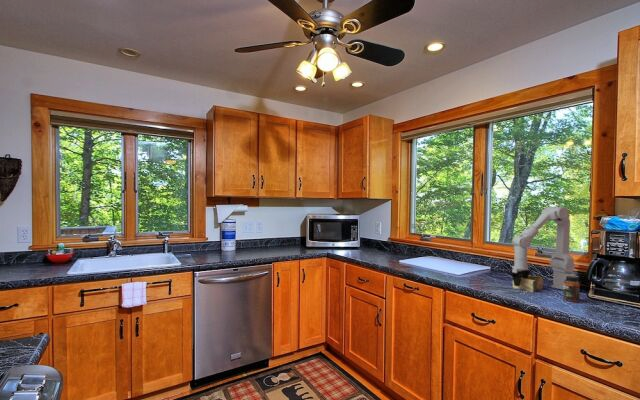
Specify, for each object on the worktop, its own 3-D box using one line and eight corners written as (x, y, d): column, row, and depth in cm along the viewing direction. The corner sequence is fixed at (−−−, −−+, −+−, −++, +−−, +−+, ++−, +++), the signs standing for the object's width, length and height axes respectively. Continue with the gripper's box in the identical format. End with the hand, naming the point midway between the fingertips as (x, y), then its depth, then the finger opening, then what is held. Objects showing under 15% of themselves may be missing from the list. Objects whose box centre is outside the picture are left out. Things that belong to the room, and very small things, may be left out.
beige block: (536, 291, 158) (536, 280, 158) (534, 292, 157) (534, 281, 157) (515, 286, 167) (515, 276, 167) (512, 287, 165) (512, 277, 165)
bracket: (542, 288, 165) (542, 275, 165) (539, 289, 162) (539, 276, 162) (523, 284, 172) (523, 272, 172) (520, 285, 169) (520, 273, 169)
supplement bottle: (579, 300, 145) (580, 276, 145) (579, 303, 141) (579, 278, 141) (563, 297, 149) (564, 274, 149) (562, 300, 145) (563, 276, 145)
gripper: (518, 256, 171) (517, 281, 171) (506, 259, 162) (505, 284, 162) (532, 258, 165) (532, 284, 165) (521, 261, 156) (520, 288, 156)
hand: (520, 284), depth 163 cm, fingers open, 7 cm apart
